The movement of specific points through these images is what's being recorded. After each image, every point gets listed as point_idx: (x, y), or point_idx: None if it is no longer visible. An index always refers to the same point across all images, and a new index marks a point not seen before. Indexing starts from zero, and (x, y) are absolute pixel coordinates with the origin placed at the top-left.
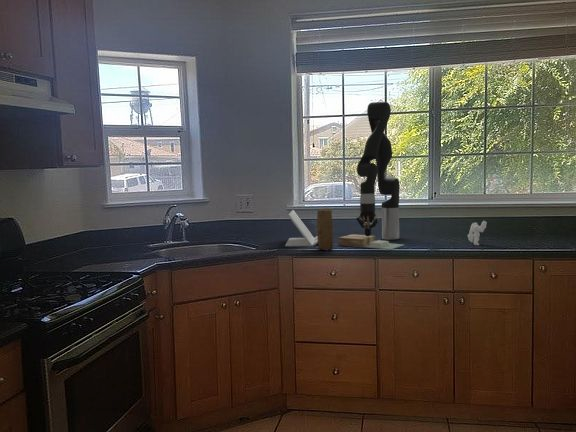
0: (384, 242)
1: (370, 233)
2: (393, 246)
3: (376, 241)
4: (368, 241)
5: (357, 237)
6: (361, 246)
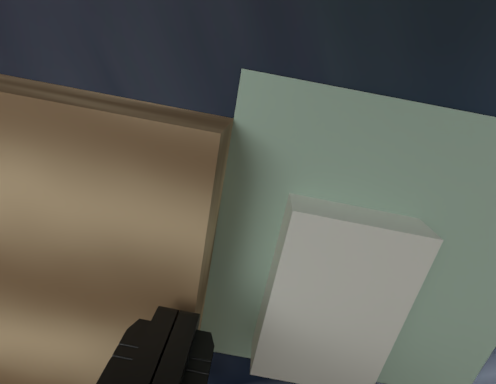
0: (402, 322)
1: (205, 361)
2: (481, 289)
3: (300, 301)
4: (202, 289)
5: (58, 331)
6: None
